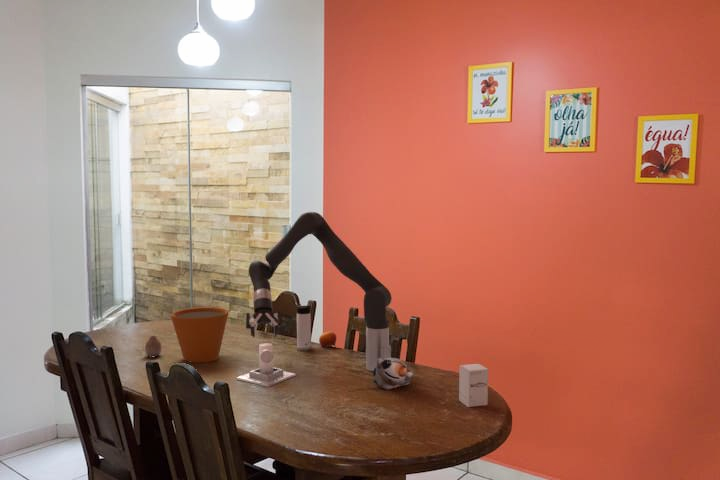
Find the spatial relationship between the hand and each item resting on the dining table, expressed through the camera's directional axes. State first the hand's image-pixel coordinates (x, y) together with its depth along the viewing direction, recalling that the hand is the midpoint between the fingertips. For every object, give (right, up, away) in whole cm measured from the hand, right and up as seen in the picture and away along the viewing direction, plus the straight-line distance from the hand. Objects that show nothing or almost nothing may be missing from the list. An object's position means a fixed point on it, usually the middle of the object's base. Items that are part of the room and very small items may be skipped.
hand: (264, 335), depth 241 cm
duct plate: (+2, -15, -7) cm, 17 cm away
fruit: (+23, -11, +40) cm, 48 cm away
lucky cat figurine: (+50, -16, -17) cm, 56 cm away
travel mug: (+13, -12, +35) cm, 39 cm away
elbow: (+2, -14, -8) cm, 17 cm away
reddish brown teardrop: (-52, -13, +24) cm, 59 cm away
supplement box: (+76, -17, -35) cm, 86 cm away
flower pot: (-31, -13, +20) cm, 39 cm away
